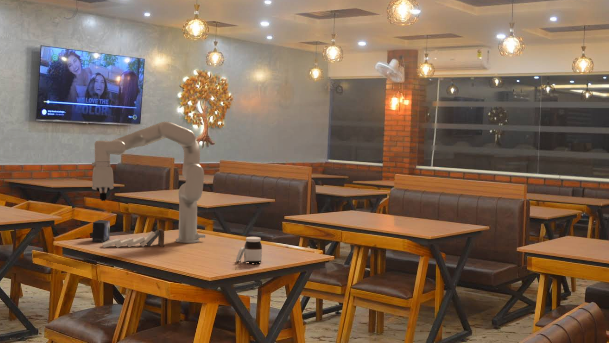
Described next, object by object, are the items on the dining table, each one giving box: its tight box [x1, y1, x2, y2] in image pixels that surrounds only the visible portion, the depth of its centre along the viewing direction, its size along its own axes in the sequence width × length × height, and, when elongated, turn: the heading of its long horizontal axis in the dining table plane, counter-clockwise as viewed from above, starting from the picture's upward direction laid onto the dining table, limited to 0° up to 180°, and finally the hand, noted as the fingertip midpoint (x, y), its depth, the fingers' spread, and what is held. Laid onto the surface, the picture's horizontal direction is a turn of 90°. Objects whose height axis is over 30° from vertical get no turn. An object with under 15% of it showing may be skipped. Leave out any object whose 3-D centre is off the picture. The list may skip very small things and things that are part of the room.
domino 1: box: [101, 237, 122, 248], centre depth 361 cm, size 2×5×9 cm
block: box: [157, 228, 165, 248], centre depth 370 cm, size 2×8×8 cm, turn 21°
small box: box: [91, 219, 111, 243], centre depth 379 cm, size 11×6×10 cm, turn 179°
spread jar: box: [235, 236, 263, 263], centre depth 331 cm, size 12×11×12 cm
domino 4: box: [139, 230, 156, 247], centre depth 368 cm, size 2×5×9 cm
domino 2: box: [115, 237, 134, 248], centre depth 363 cm, size 2×5×9 cm
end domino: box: [145, 229, 160, 247], centre depth 369 cm, size 2×5×9 cm
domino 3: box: [126, 235, 145, 248], centre depth 365 cm, size 2×5×9 cm
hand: (103, 200), depth 366 cm, fingers closed
